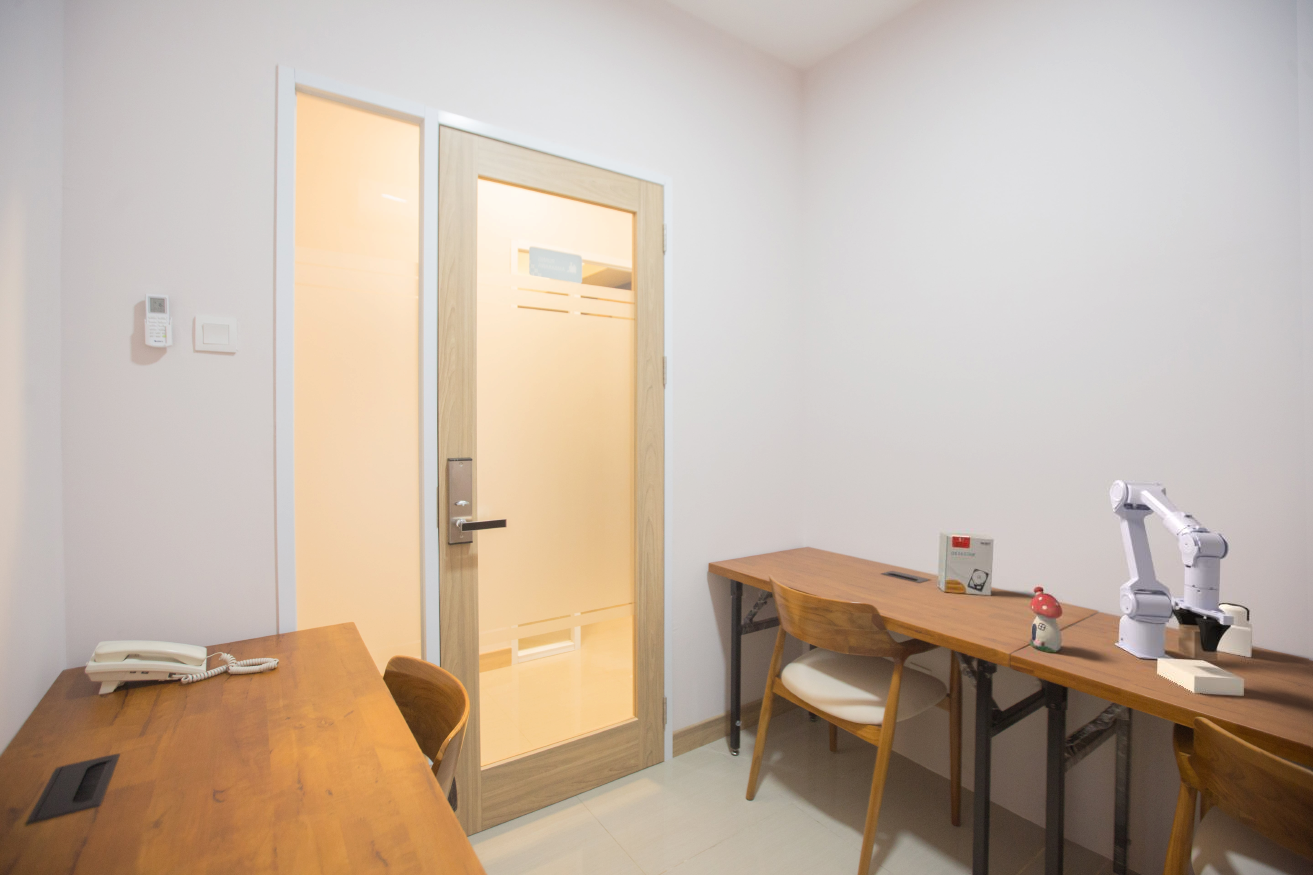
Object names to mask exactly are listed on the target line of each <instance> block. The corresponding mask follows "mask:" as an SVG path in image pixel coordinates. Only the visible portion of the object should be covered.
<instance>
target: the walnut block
mask: <svg viewBox="0 0 1313 875" xmlns="http://www.w3.org/2000/svg"><path fill="white" fill-rule="evenodd" d="M1178 651H1179V652H1181V653H1182V654H1184V655H1186V656H1188V657H1190V658H1192V659H1193V660H1200V659H1201V660H1218V651H1217V649H1216V651H1215V652H1206V651H1203V649H1202V645H1201V633H1200V629H1199V626H1198V625H1179V624H1178Z"/></svg>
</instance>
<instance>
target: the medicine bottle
mask: <svg viewBox="0 0 1313 875" xmlns="http://www.w3.org/2000/svg"><path fill="white" fill-rule="evenodd" d="M1219 608H1220V609H1221V610H1223V611H1224V612H1226V613H1227V614H1229V615H1232V616H1234V625H1231V627H1230V628H1229V629H1228V630H1227V631H1226V632H1225V633H1224V635H1223V636H1222V638H1221V640H1220V642H1219V644H1218V647H1217V652H1221V653H1225V654H1230V655H1231V654H1232V655H1236V656H1239V655H1240V657H1244V656H1245V658H1249V657H1250V658H1252V650H1253V647H1252V646H1253V643H1252V642H1253V625H1252V624H1251V623H1250V609H1249V608H1248V607H1247V606H1244V605H1240V604H1237V603H1231V602H1219Z"/></svg>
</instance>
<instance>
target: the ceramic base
mask: <svg viewBox="0 0 1313 875" xmlns="http://www.w3.org/2000/svg"><path fill="white" fill-rule="evenodd" d="M1156 660H1157V663H1156V664H1157V665H1156V669H1157V670H1156V674H1157V675H1158V674H1159V675H1158V676H1160V675H1161V676H1160V677H1162V676H1163V677H1162V678H1164V677H1165V678H1164V679H1166V678H1167V679H1166V680H1168V679H1169V680H1168V681H1170V680H1171V681H1170V682H1172V681H1173V682H1172V683H1174V682H1175V683H1177V684H1178V686H1179V685H1181V686H1183V687H1184V689H1185V688H1186V689H1185V690H1187V689H1188V690H1187V691H1189V690H1190V692H1191V691H1192V692H1191V693H1192V694H1200V693H1201V694H1202V693H1203V694H1202V695H1205V694H1206V695H1218V696H1219V695H1221V696H1239V697H1240V696H1241V697H1242V696H1244V692H1245V690H1244V689H1245V678H1244V677H1241V676H1239V675H1237V674H1235V673H1233V672H1230V671H1228V670H1225V669H1223V668H1220V666H1219V667H1218V666H1217V665H1215V664H1212V663H1210V662H1208V661H1205V660H1204V659H1201V660H1200V659H1185V658H1184V659H1182V658H1181V659H1180V658H1174V659H1164V658H1158V659H1156ZM1175 683H1174V684H1175ZM1177 684H1176V685H1177ZM1181 686H1180V687H1181ZM1183 687H1182V688H1183Z"/></svg>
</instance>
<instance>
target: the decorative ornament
mask: <svg viewBox="0 0 1313 875" xmlns="http://www.w3.org/2000/svg"><path fill="white" fill-rule="evenodd" d="M1044 590H1045V589H1044V588H1043V587H1041V586H1036V587H1034V588H1033V593H1034V594H1035V596H1034V597H1033V598H1032V600H1031V602H1030V604H1029V607H1030V609H1031V611H1032V612H1033V613H1034V614H1036V616H1035V619H1034V620H1033V622H1032V624H1031V629H1030V634H1031V638H1030V640H1029V644H1030V646H1031V647H1032V648H1033V649H1034V650H1038V651H1040V652H1046V653H1057V652H1059V650H1060V649H1061V647H1062V641H1063V640H1062V639H1063V637H1062V636H1063V635H1062V632H1061V629H1060V627H1059V624H1058V621H1057V619H1059V618H1060V617H1061V616H1063V610H1062V606H1061V604H1060V602H1059V601H1058V599H1056V597H1054V596H1053V595H1052V594H1049V593H1044Z"/></svg>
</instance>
